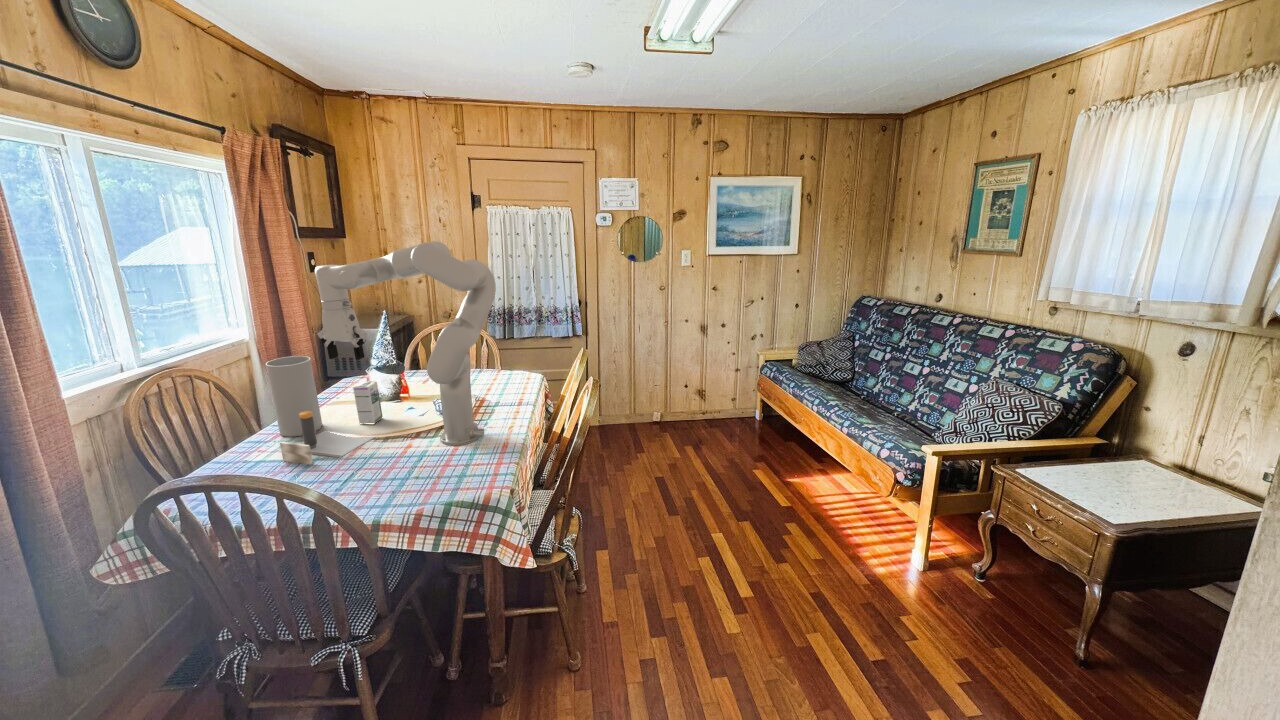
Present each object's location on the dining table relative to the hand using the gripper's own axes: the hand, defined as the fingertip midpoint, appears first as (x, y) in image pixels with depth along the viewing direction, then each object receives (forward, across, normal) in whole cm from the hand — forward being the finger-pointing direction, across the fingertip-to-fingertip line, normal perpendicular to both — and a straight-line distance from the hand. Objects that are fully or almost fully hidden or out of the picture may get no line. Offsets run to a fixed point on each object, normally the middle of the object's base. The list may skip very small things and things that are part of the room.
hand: (347, 358), depth 164 cm
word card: (+28, +7, +19) cm, 34 cm away
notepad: (+28, +7, +6) cm, 29 cm away
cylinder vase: (+27, +26, -2) cm, 37 cm away
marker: (+27, +11, +10) cm, 31 cm away
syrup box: (+28, +8, -13) cm, 32 cm away
